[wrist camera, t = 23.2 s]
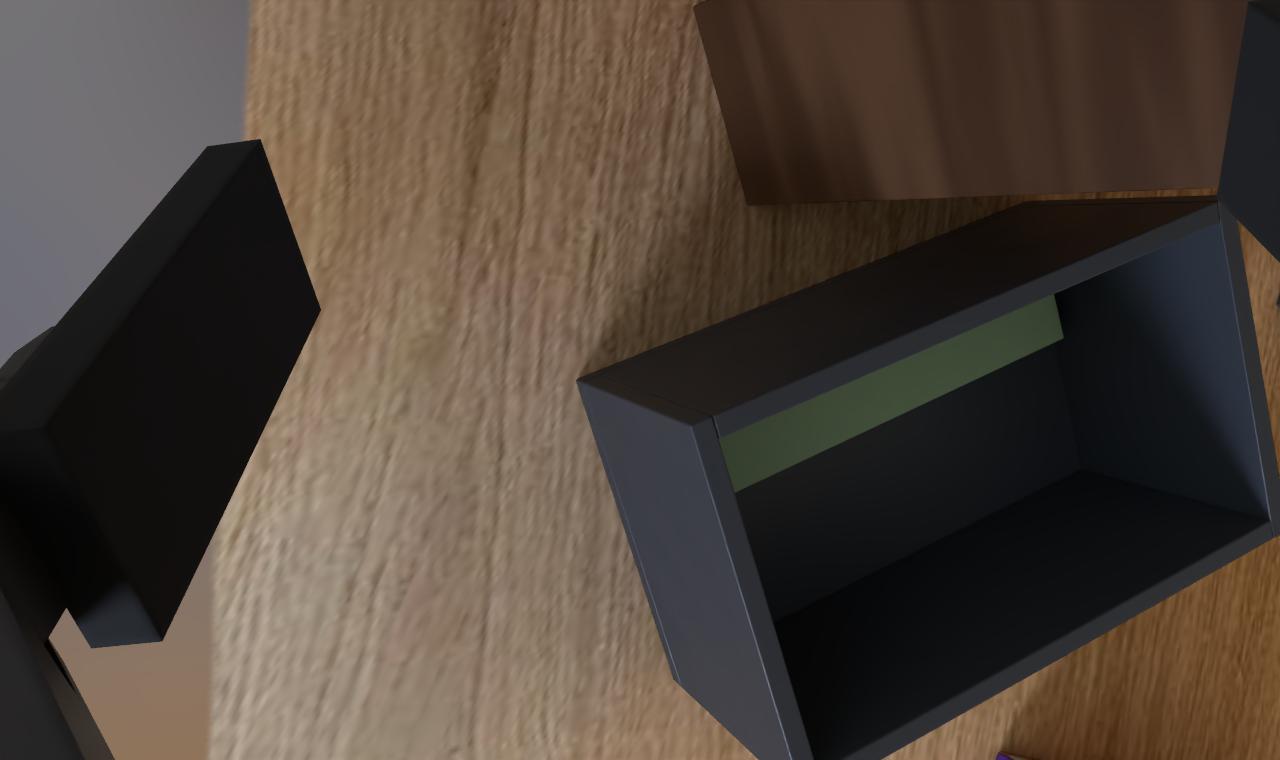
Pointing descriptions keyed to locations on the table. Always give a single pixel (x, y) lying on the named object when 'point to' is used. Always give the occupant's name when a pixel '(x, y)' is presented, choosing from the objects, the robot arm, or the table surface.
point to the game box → (1009, 757)
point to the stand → (972, 95)
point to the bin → (946, 473)
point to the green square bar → (886, 393)
